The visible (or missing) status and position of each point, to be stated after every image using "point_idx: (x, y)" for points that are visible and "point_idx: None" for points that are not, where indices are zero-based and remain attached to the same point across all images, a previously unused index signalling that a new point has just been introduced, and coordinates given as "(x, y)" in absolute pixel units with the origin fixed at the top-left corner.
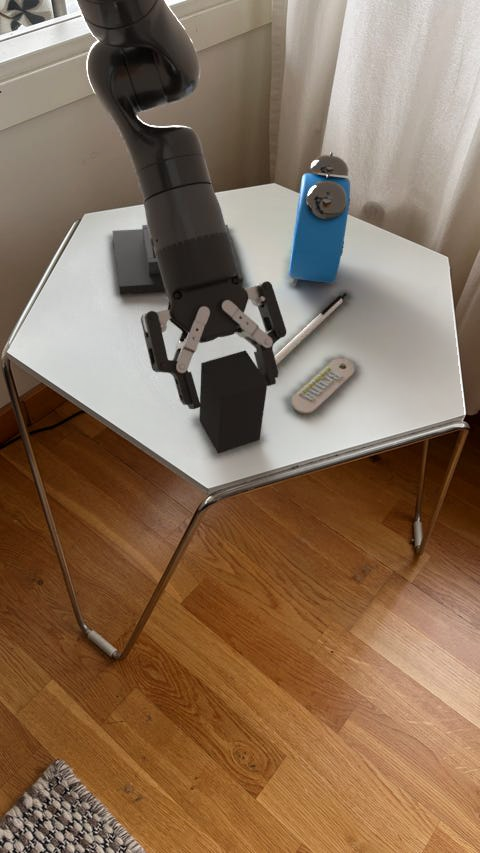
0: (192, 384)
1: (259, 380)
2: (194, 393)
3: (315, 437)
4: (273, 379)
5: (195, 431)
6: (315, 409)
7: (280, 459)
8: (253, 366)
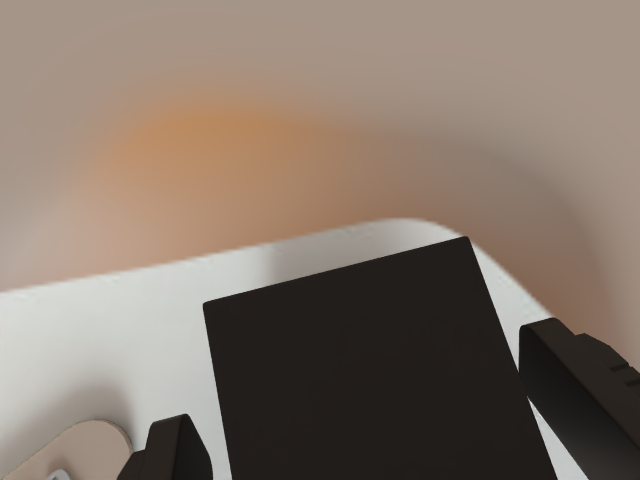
0: (603, 396)
1: (241, 324)
2: (574, 360)
3: (112, 324)
4: (158, 430)
5: None
6: (67, 431)
7: (233, 263)
8: (246, 449)
